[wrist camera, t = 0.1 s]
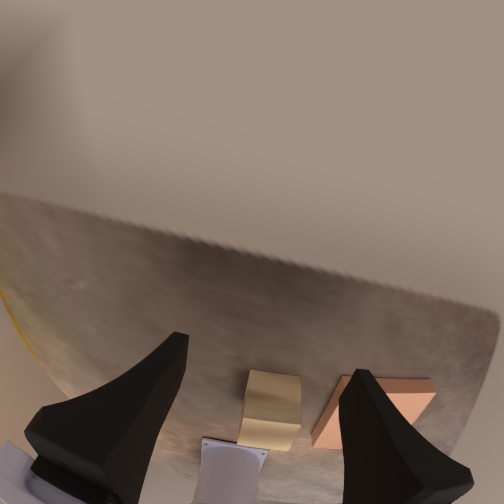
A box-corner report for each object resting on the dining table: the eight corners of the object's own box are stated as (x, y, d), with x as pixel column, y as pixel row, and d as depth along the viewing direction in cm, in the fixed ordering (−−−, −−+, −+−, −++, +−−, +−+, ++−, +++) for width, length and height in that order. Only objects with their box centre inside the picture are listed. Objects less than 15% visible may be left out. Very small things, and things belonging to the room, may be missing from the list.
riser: (389, 434, 28) (392, 447, 26) (311, 433, 28) (311, 447, 26) (430, 379, 24) (436, 392, 22) (342, 375, 24) (345, 391, 22)
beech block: (288, 405, 26) (288, 451, 21) (243, 399, 27) (236, 444, 22) (300, 376, 25) (301, 424, 20) (250, 369, 25) (243, 417, 20)
